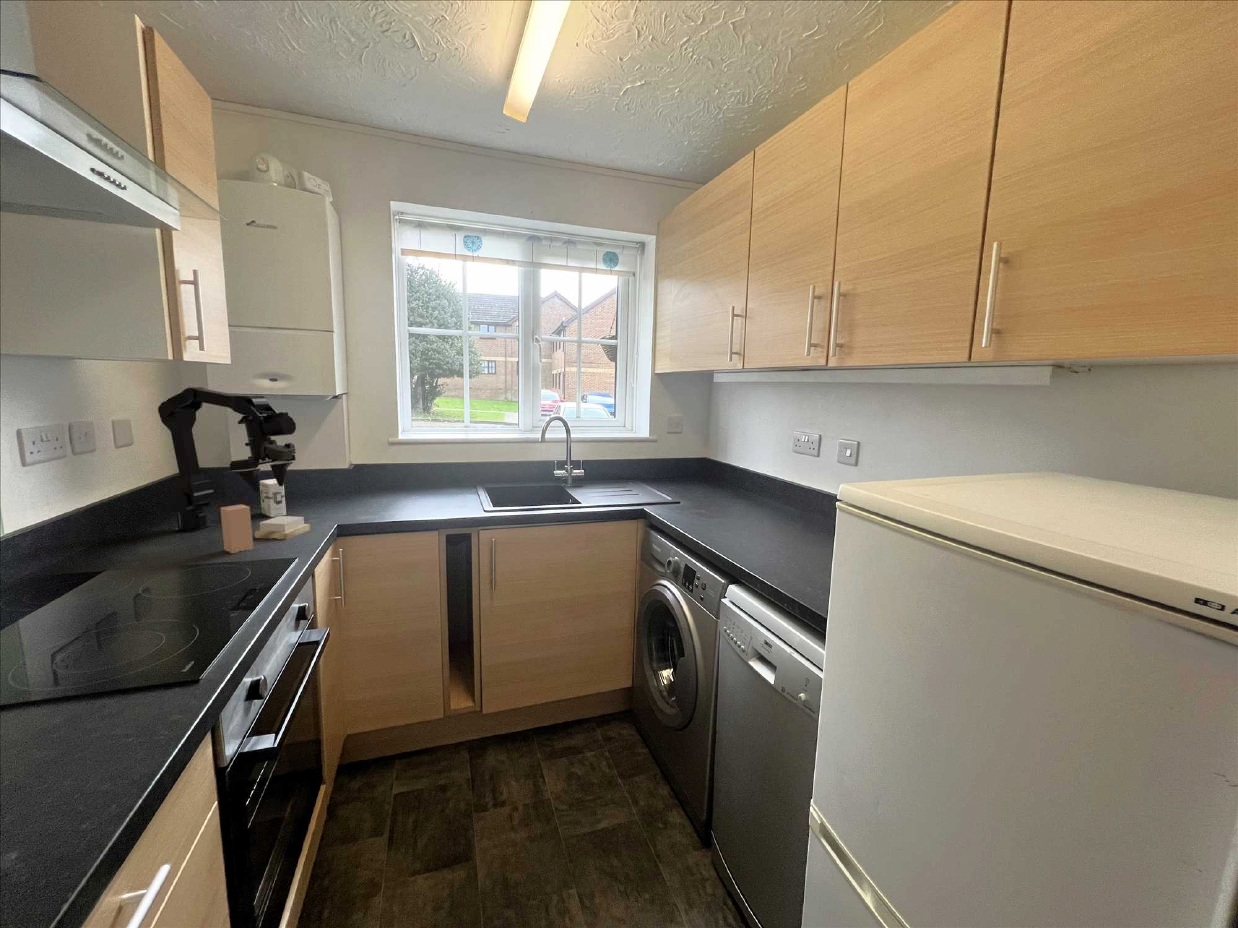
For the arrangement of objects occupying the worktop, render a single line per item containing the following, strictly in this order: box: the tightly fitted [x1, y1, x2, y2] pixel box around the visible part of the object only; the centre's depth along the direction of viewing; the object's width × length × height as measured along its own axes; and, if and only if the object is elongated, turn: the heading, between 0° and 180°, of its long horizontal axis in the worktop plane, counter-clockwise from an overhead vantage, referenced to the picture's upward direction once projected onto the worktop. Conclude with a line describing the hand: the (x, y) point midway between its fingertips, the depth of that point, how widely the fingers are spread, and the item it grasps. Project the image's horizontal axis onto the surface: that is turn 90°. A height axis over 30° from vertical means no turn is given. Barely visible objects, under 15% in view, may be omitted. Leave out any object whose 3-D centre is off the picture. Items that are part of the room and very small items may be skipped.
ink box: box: [259, 478, 287, 518], centre depth 178 cm, size 9×5×12 cm, turn 53°
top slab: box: [259, 515, 305, 532], centre depth 157 cm, size 8×8×2 cm
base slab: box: [254, 523, 311, 540], centre depth 157 cm, size 10×10×2 cm
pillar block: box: [220, 504, 254, 554], centre depth 141 cm, size 5×5×12 cm
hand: (269, 489), depth 154 cm, fingers open, 9 cm apart
